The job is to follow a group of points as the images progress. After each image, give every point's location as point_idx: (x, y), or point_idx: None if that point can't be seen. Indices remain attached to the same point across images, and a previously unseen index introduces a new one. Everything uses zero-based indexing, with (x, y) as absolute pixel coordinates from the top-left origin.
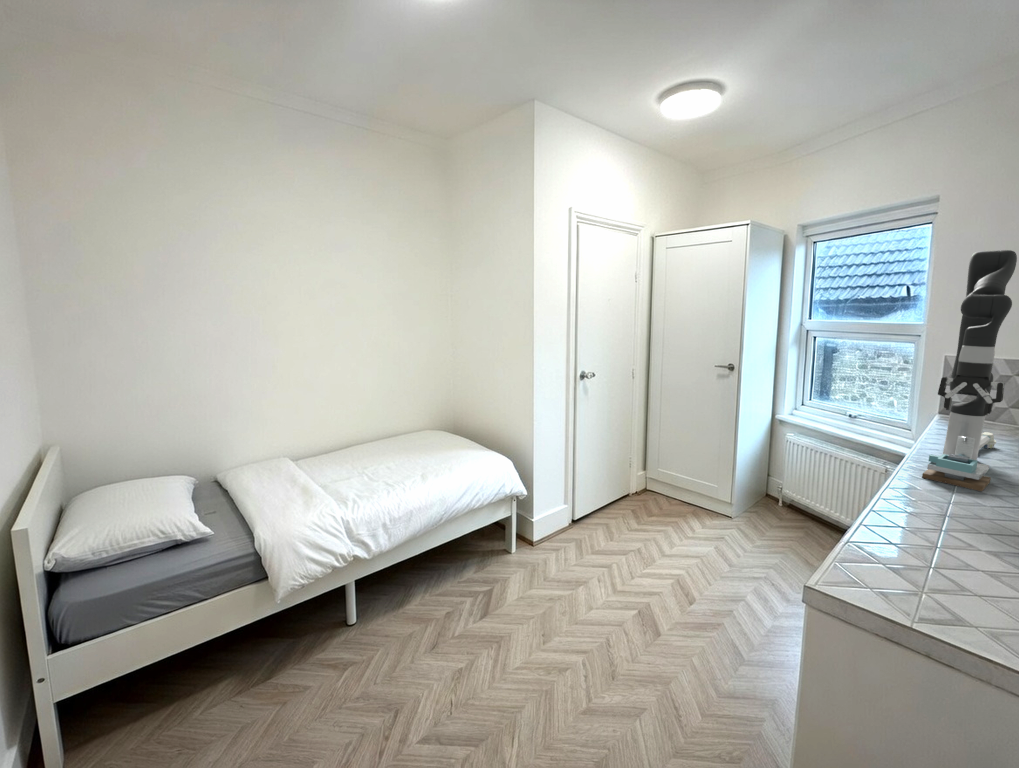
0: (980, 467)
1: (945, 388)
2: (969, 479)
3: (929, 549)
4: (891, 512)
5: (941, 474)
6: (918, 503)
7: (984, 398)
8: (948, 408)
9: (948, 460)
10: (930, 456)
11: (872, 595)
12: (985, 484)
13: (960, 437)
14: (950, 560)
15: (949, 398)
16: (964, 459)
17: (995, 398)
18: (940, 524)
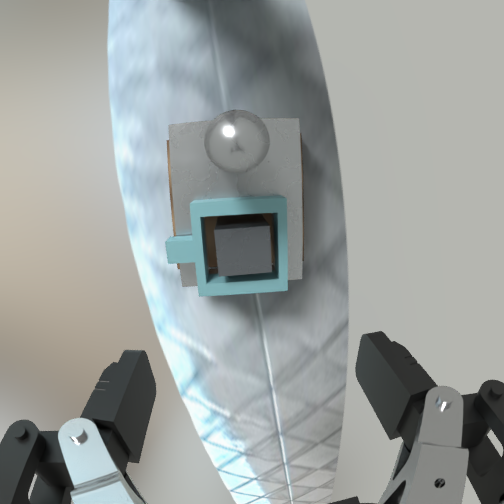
0: (287, 172)
1: (26, 490)
2: (269, 215)
3: (284, 489)
4: (232, 463)
5: (209, 233)
6: (240, 423)
7: (393, 476)
8: (152, 399)
9: (227, 290)
10: (172, 262)
11: None
12: (303, 220)
13: (218, 167)
14: (299, 490)
15: (124, 457)
16: (263, 271)
17: (464, 442)
18: (280, 455)
